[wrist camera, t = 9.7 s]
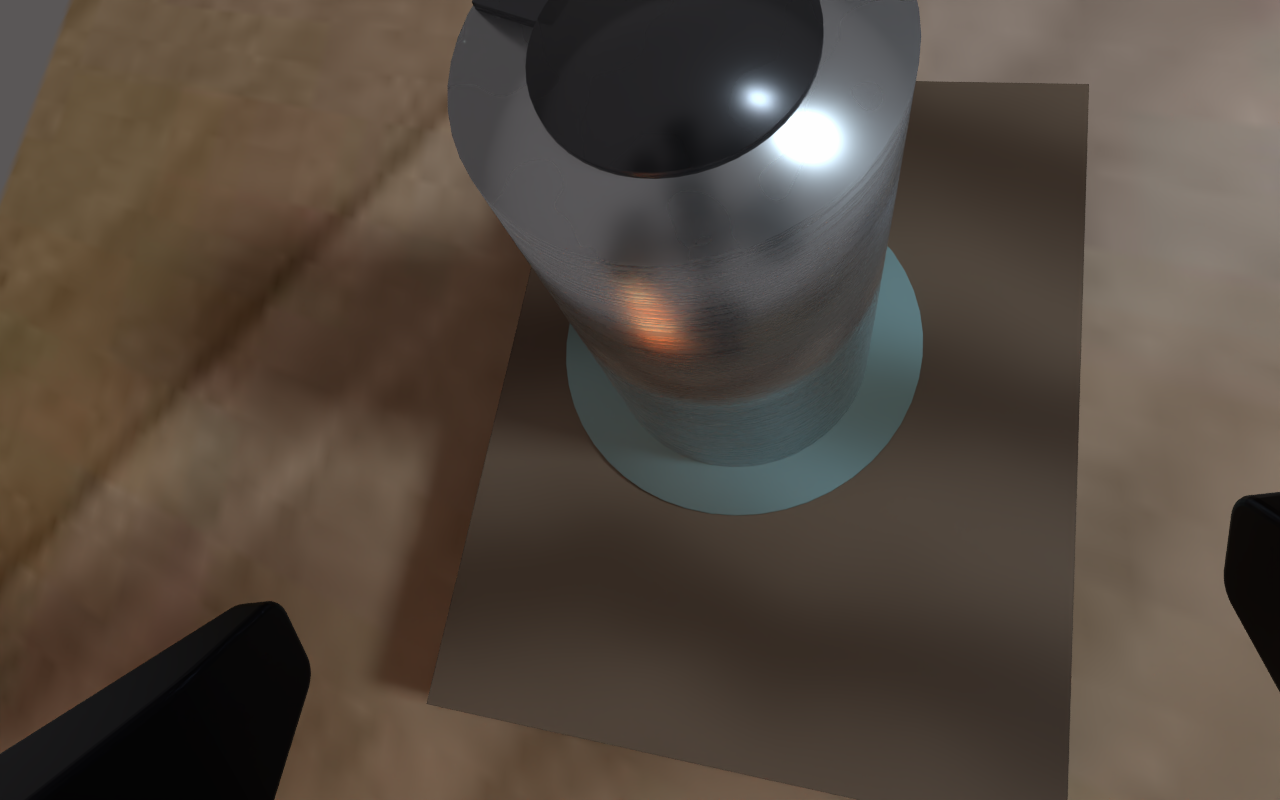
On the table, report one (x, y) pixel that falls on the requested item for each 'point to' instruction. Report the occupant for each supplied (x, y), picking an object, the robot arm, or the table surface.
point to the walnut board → (820, 514)
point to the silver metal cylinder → (699, 195)
